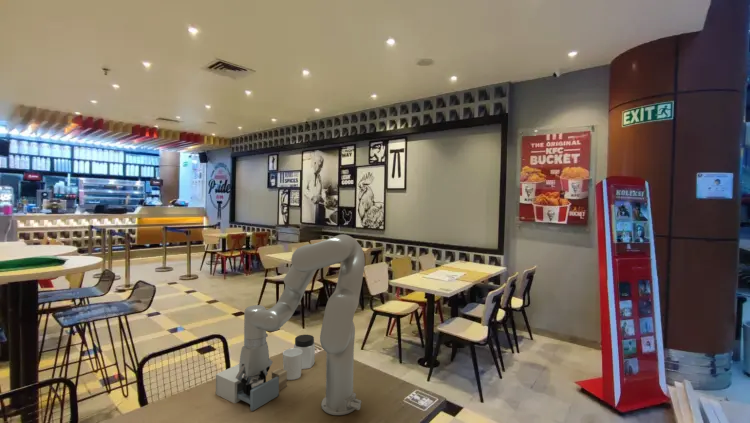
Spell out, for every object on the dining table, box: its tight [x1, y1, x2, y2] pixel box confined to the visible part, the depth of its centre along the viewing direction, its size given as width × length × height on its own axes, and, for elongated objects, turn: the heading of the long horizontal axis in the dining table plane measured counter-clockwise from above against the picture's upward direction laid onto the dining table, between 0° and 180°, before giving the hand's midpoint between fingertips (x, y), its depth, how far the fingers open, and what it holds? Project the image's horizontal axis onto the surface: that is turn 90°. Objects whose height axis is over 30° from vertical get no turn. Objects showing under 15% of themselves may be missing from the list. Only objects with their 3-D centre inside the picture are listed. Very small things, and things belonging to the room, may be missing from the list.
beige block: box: [271, 367, 288, 391], centre depth 136 cm, size 4×4×6 cm
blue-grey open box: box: [237, 377, 280, 412], centre depth 127 cm, size 11×12×7 cm
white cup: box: [282, 347, 303, 381], centre depth 145 cm, size 8×8×10 cm
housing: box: [215, 363, 260, 404], centre depth 132 cm, size 11×12×8 cm
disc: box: [249, 376, 264, 390], centre depth 128 cm, size 6×6×2 cm
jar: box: [293, 334, 316, 370], centre depth 155 cm, size 9×8×12 cm
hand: (254, 389), depth 128 cm, fingers closed on disc, 5 cm apart
